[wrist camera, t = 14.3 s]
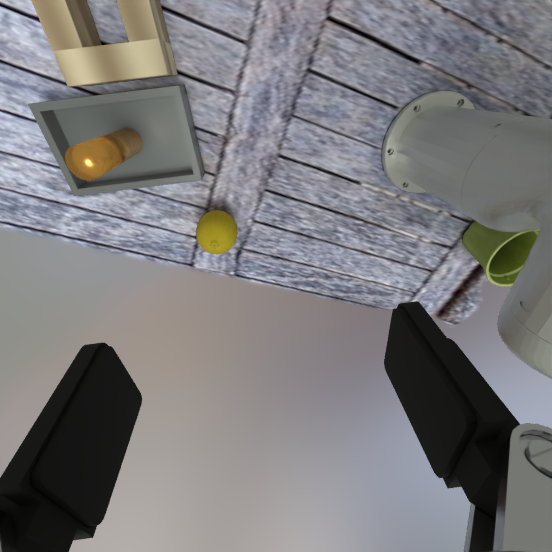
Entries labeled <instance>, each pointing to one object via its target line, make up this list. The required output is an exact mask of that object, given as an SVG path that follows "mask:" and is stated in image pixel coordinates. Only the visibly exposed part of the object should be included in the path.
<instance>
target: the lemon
mask: <svg viewBox="0 0 552 552" xmlns="http://www.w3.org/2000/svg"><path fill="white" fill-rule="evenodd" d="M196 235H197V240H198V242H199V244H200V246H201V247H202V248H203V249H204V250H205V251H207V252H209V253H212V254H222V253H225V252H226V251H228V250H229V249H230V248H231V247H232V246H233V245H234V243H235V241H236V238H237V226H236V223H235V221H234V219H233V218H232V217H231V216H230V215H229V214H228V213H226V212H224V211H220V210H213V211H209V212H208V213H206V214H204V215H203V216H202V217H201V219H200V220H199V222H198V224H197V228H196Z"/></svg>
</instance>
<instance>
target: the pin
mask: <svg viewBox="0 0 552 552" xmlns="http://www.w3.org/2000/svg"><path fill="white" fill-rule="evenodd" d="M142 148H143V141H142V138H141V136H140V135H139V134H138V133H137V132H136V131H135V130H133V129H131V128H123V129H120V130H117V131H114V132H111V133H109V134H106V135H103V136H100V137H97V138H94V139H91V140H88V141H85V142H82V143H80V144H77V145H74V146H71V147H70V148H68V149H67V151H66V153H65V162H66V165H67V167H68V168H69V170H70V171H71V172H72V173H73V174H74V175H75V176H77V177H78V178H80V179H83V180H87V181H92V180H96V179H97V178H99V177H101V176H102V175H104V174H105V173H107V172H109V171H110V170H112V169H114V168H115V167H117V166H118V165H120V164H122V163H123V162H125V161H126V160H128V159H130V158H131V157H133V156H135V155H136V154H138V153H139V152H140V151H141V150H142Z"/></svg>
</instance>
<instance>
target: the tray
mask: <svg viewBox="0 0 552 552" xmlns="http://www.w3.org/2000/svg"><path fill="white" fill-rule="evenodd" d="M28 105H29V107H30V109H31V111H32V113H33V115H34V117H35V119H36V121H37V123H38V125H39V127H40V129H41V131H42V133H43V135H44V137H45V139H46V141H47V143H48V145H49V147H50V149H51V151H52V153H53V155H54V157H55V159H56V161H57V163H58V165H59V167H60V169H61V171H62V173H63V175H64V177H65V179H66V180H67V182H68V184H69V186H70V188H71V190H72V192H73V194H74V196H80V195H88V194H96V193H104V192H112V191H120V190H127V189H135V188H143V187H151V186H159V185H167V184H175V183H183V182H191V181H199V180H202V178H203V176H204V174H205V171H204V166H203V162H202V158H201V154H200V149H199V145H198V141H197V136H196V132H195V128H194V124H193V119H192V115H191V111H190V106H189V102H188V98H187V93H186V89H185V85H178V86H170V87H162V88H154V89H146V90H137V91H129V92H121V93H113V94H105V95H96V96H88V97H80V98H72V99H63V100H55V101H47V102H39V103H31V104H28ZM123 128H131V129H133V130H135V131H136V132H137V133H138V134H139V135H140V136H141V138H142V141H143V148H142V150H141V151H140V152H139V153H138V154H136V155H135V156H133V157H131V158H130V159H128V160H126V161H125V162H123V163H122V164H120V165H118V166H117V167H115V168H114V169H112V170H110V171H109V172H107V173H105V174H104V175H102V176H101V177H99V178H97V179H96V180H92V181H87V180H83V179H80V178H78V177H77V176H75V175H74V174H73V173H72V172H71V171H70V170H69V168H68V167H67V165H66V162H65V153H66V151H67V149H68V148H70V147H71V146H74V145H77V144H80V143H82V142H85V141H88V140H91V139H94V138H97V137H100V136H103V135H106V134H109V133H111V132H114V131H117V130H120V129H123Z"/></svg>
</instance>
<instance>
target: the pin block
mask: <svg viewBox="0 0 552 552" xmlns="http://www.w3.org/2000/svg"><path fill="white" fill-rule="evenodd" d="M31 1H32V3H33V5H34V8H35V10H36V12H37V15H38V17H39V19H40V22H41V24H42V27H43V29H44V31H45V34H46V36H47V38H48V41H49V43H50V45H51V48H52V50H53V52H54V55H55V57H56V60H57V62H58V64H59V67H60V69H61V71H62V74H63V76H64V78H65V81H66V83H67V86H93V85H101V84H109V83H118V82H126V81H134V80H142V79H151V78H159V77H167V76H175V75H178V74H177V70H176V66H175V62H174V57H173V53H172V49H171V45H170V41H169V37H168V32H167V28H166V24H165V20H164V16H163V12H162V7H161V3H160V0H117V3H118V7H119V10H120V13H121V17H122V20H123V23H124V27H125V30H126V33H127V37H128V40H129V42H126V43H117V44H109V45H102V44H101V41H100V38H99V35H98V32H97V29H96V27H95V24H94V21H93V18H92V15H91V12H90V9H89V6H88V3H87V0H31Z"/></svg>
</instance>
